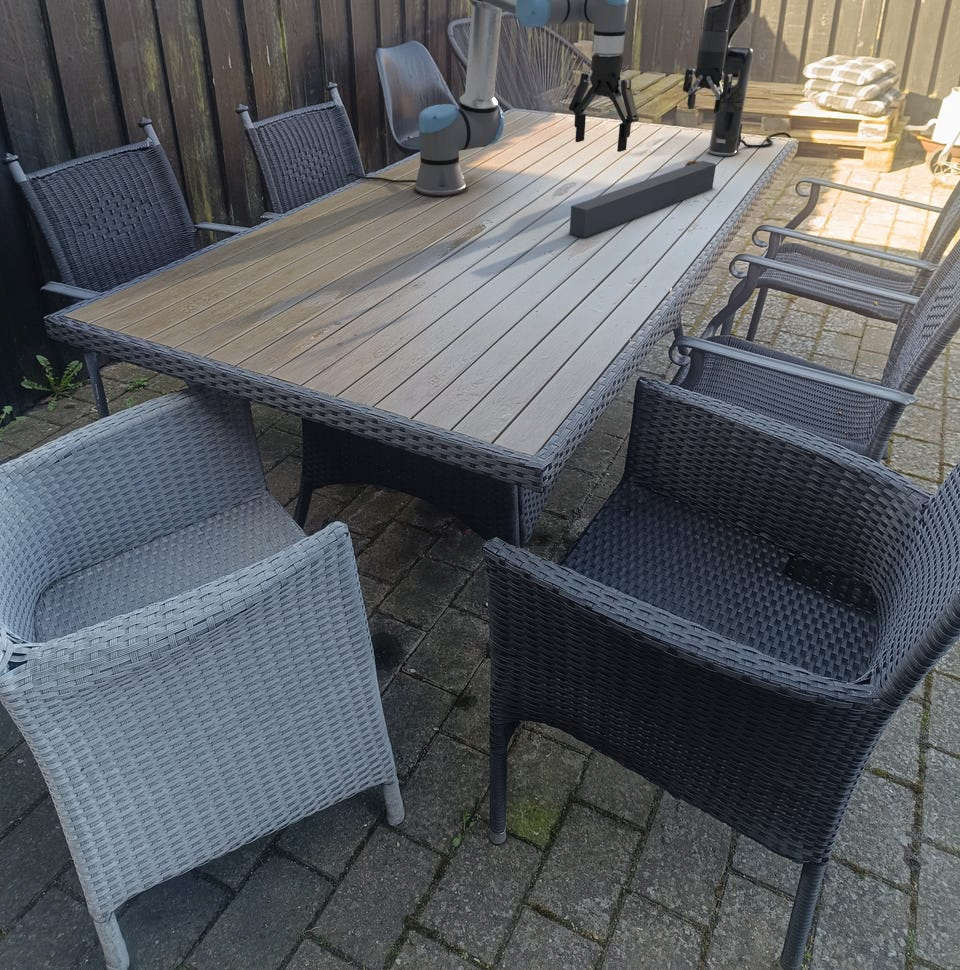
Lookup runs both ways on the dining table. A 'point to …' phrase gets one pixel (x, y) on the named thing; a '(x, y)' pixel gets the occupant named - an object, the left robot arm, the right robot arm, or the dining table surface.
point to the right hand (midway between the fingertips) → (703, 111)
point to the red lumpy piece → (690, 163)
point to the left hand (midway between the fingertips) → (600, 146)
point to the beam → (640, 199)
